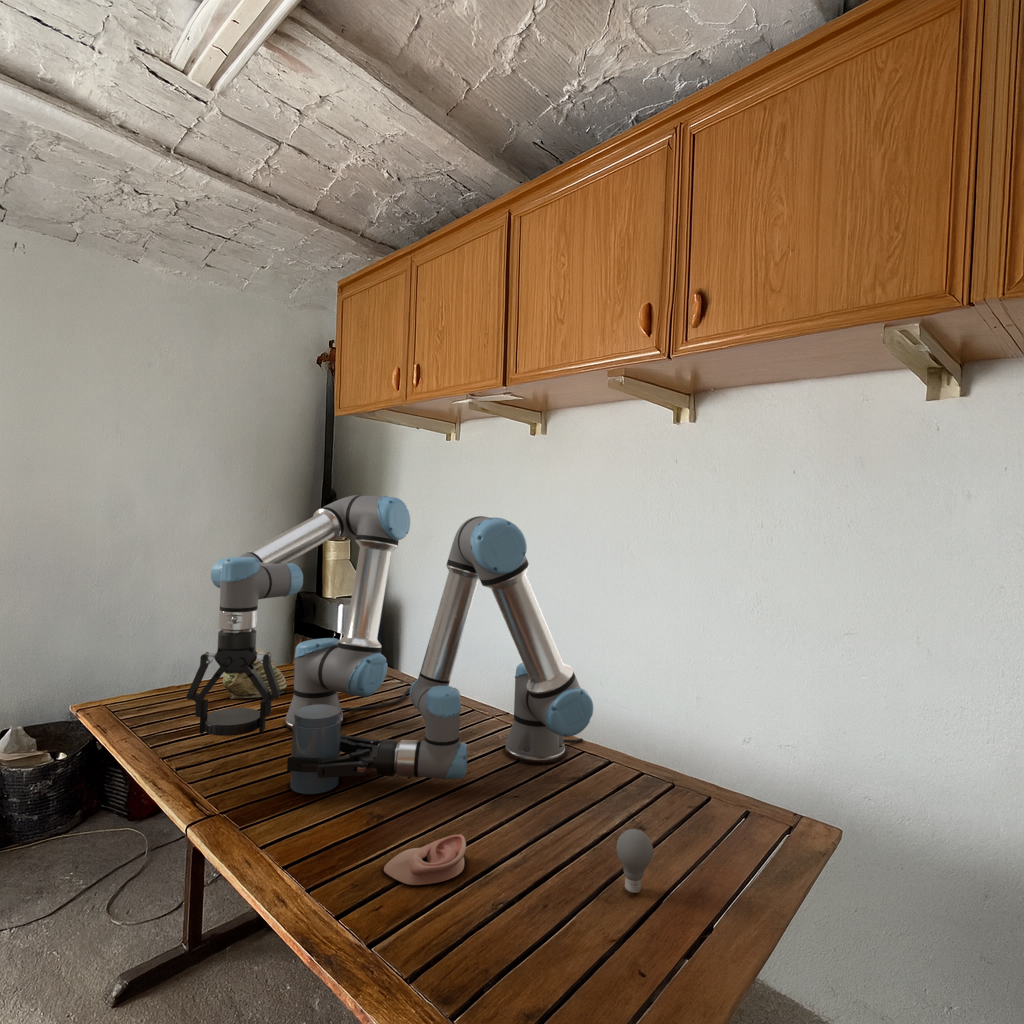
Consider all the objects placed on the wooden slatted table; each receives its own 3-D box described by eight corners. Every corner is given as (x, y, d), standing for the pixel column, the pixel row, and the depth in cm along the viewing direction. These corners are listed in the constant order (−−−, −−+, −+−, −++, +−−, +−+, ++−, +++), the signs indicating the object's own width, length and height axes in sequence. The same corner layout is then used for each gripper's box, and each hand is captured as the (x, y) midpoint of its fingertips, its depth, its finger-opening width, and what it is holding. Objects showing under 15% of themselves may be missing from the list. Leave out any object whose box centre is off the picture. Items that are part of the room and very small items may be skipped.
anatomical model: (377, 856, 105) (402, 822, 117) (376, 879, 106) (401, 843, 117) (453, 868, 103) (472, 833, 114) (452, 892, 103) (471, 854, 114)
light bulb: (610, 879, 108) (613, 822, 108) (644, 879, 109) (647, 822, 109) (619, 902, 102) (622, 840, 102) (655, 901, 103) (658, 840, 103)
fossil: (218, 695, 195) (220, 647, 195) (278, 685, 208) (279, 640, 207) (228, 703, 189) (230, 653, 188) (289, 692, 201) (290, 645, 201)
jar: (320, 769, 147) (323, 700, 147) (348, 783, 141) (351, 711, 140) (280, 784, 139) (283, 711, 139) (308, 799, 133) (311, 722, 132)
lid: (190, 730, 132) (191, 719, 132) (232, 714, 143) (233, 704, 143) (233, 739, 128) (233, 728, 128) (272, 722, 139) (273, 712, 139)
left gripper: (172, 632, 130) (167, 738, 130) (292, 633, 134) (287, 736, 134) (183, 625, 137) (178, 726, 137) (297, 626, 142) (292, 724, 142)
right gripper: (385, 799, 128) (276, 794, 128) (405, 754, 151) (312, 749, 151) (387, 762, 128) (278, 757, 128) (406, 722, 151) (314, 718, 151)
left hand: (232, 731), depth 136 cm, fingers closed on lid, 11 cm apart
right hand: (296, 753), depth 140 cm, fingers closed on jar, 10 cm apart
